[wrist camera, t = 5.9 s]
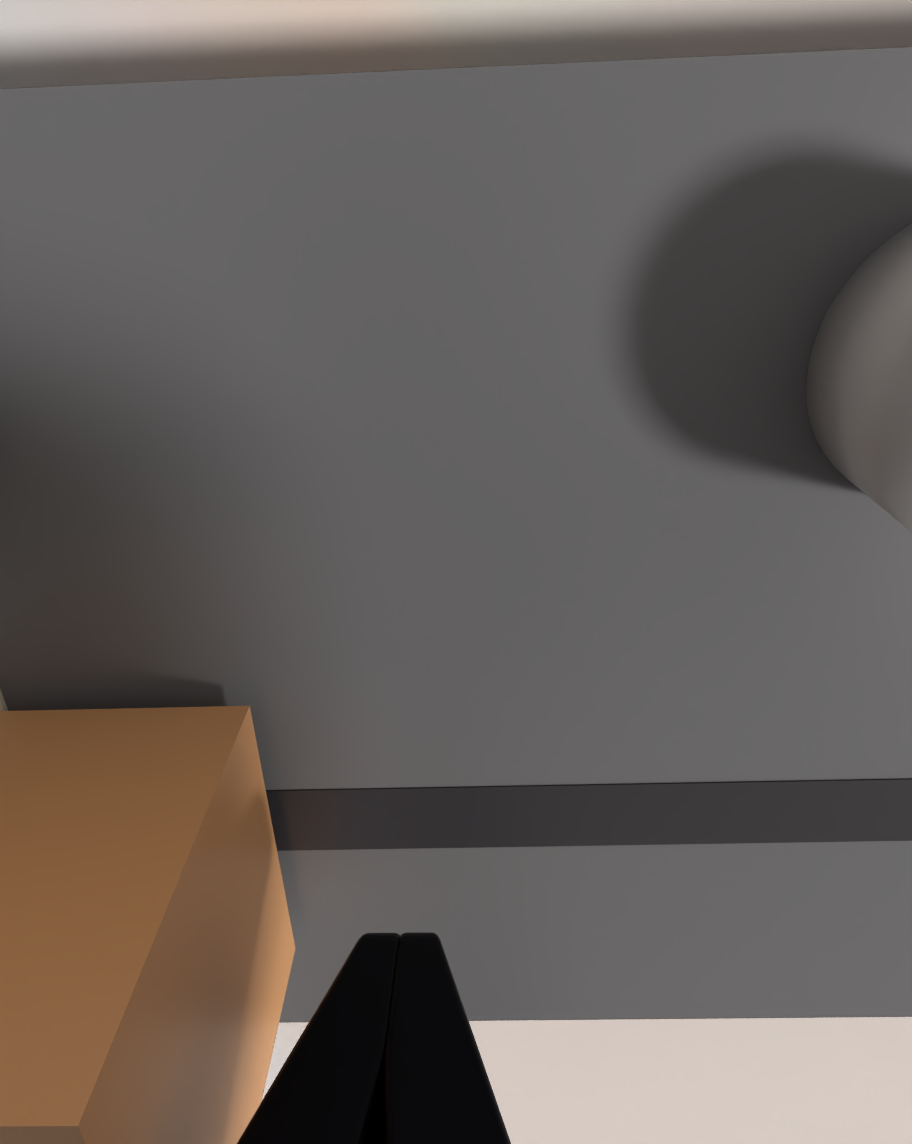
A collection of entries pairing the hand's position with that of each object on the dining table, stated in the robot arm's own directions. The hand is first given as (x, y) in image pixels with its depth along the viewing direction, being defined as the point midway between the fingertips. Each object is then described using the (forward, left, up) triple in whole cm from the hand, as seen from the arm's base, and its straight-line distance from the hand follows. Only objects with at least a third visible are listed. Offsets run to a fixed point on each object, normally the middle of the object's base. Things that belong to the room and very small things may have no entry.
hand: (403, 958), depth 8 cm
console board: (+2, 0, -4) cm, 4 cm away
